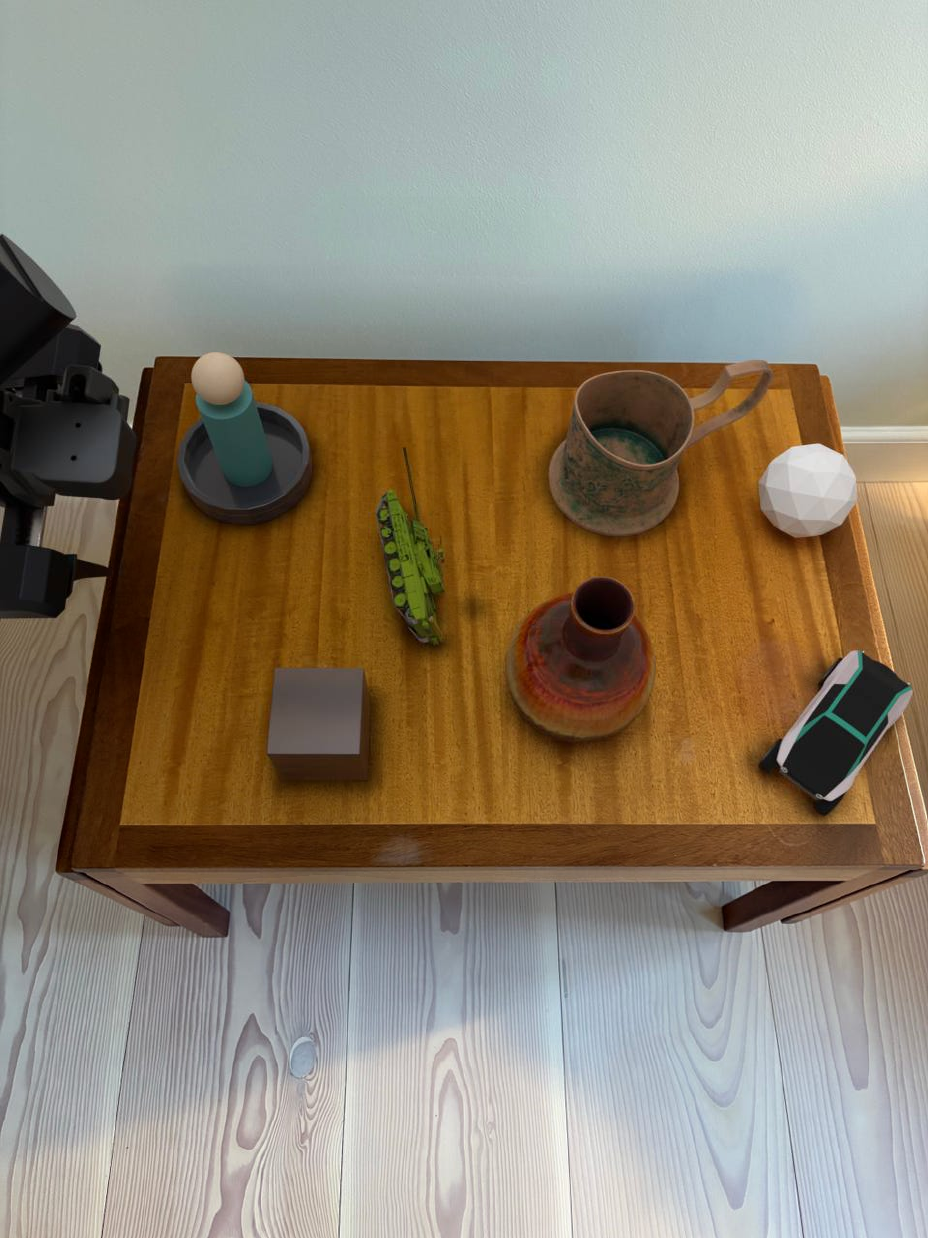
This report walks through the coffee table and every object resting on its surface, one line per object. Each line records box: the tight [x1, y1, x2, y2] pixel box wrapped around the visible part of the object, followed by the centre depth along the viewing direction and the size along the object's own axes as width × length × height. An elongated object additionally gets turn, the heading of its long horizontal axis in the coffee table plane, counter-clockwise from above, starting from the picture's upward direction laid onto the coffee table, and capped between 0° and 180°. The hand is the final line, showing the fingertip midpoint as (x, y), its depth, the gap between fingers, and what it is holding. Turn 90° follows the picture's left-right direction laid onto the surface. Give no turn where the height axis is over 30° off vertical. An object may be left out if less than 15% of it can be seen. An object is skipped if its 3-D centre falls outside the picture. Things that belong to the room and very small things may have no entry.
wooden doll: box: [190, 351, 273, 487], centre depth 72 cm, size 4×4×14 cm
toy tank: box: [375, 443, 486, 646], centre depth 73 cm, size 7×19×10 cm
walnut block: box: [266, 667, 372, 782], centre depth 66 cm, size 6×6×7 cm
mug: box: [547, 359, 774, 537], centre depth 75 cm, size 12×18×12 cm, turn 108°
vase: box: [505, 575, 657, 744], centre depth 64 cm, size 11×11×15 cm
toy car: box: [757, 650, 914, 817], centre depth 67 cm, size 6×12×5 cm, turn 139°
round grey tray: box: [176, 401, 314, 526], centre depth 78 cm, size 11×11×2 cm
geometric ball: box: [757, 443, 858, 539], centre depth 75 cm, size 8×8×8 cm
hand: (116, 511), depth 64 cm, fingers open, 9 cm apart
